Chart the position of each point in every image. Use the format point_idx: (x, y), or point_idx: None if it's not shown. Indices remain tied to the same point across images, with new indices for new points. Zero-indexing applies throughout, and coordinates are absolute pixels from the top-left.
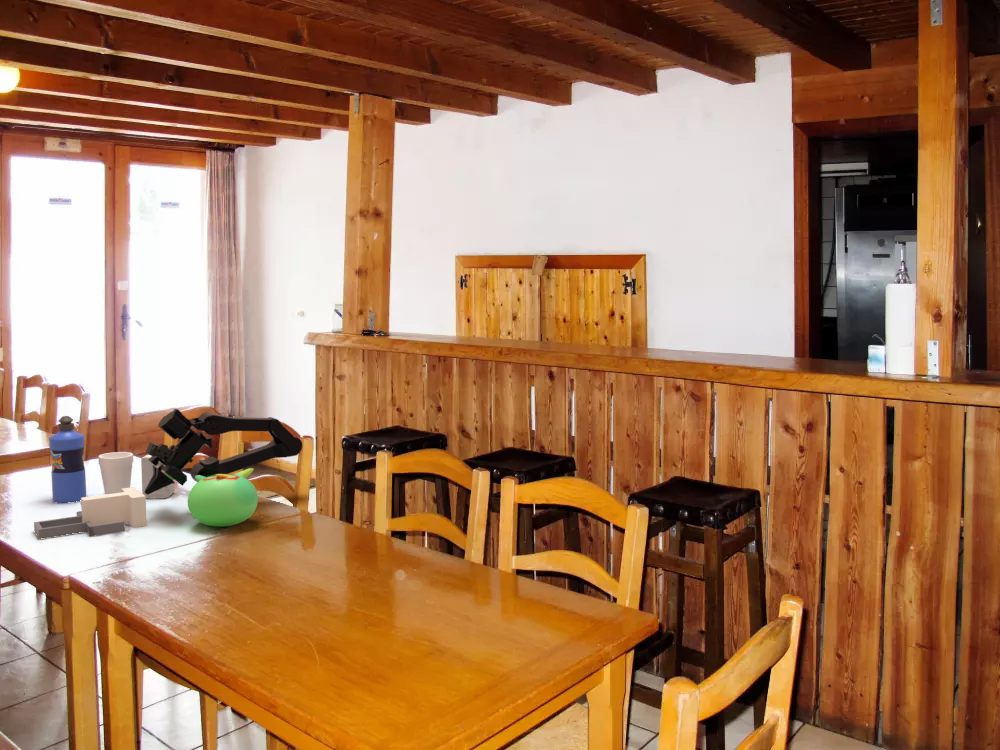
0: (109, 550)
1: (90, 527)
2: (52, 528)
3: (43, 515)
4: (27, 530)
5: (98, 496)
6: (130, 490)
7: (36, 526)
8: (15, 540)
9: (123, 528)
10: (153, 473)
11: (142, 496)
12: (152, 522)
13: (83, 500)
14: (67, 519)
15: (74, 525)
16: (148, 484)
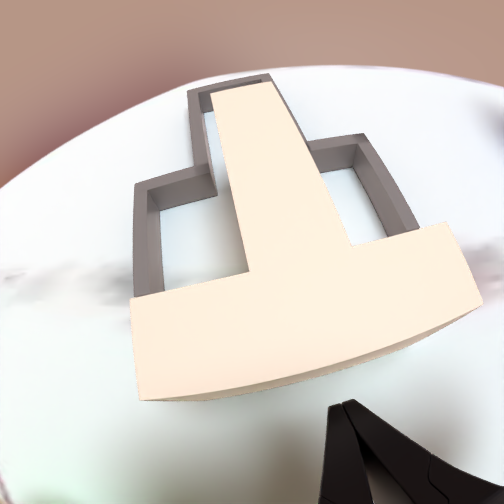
0: (17, 264)
1: (135, 187)
2: (188, 108)
3: (418, 103)
4: (287, 84)
5: (268, 125)
6: (391, 284)
7: (225, 81)
8: (211, 83)
9: None
10: (500, 491)
11: (142, 377)
12: (243, 428)
13: (213, 93)
14: None
15: (192, 144)
16: (388, 439)
